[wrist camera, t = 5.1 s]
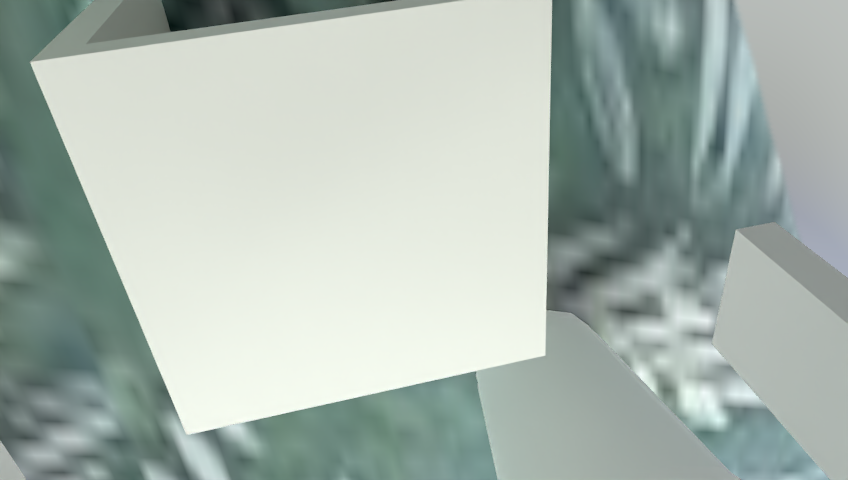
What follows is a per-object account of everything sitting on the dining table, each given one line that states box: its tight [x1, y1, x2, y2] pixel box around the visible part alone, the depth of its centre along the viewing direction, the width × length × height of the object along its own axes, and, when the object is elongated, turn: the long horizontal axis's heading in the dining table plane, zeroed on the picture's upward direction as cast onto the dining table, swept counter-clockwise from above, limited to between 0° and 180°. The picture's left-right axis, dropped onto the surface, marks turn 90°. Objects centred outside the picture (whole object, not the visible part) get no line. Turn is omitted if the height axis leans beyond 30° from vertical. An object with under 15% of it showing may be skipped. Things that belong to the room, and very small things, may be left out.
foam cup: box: [476, 310, 741, 480], centre depth 27 cm, size 10×9×13 cm
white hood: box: [30, 0, 552, 435], centre depth 19 cm, size 10×10×10 cm
